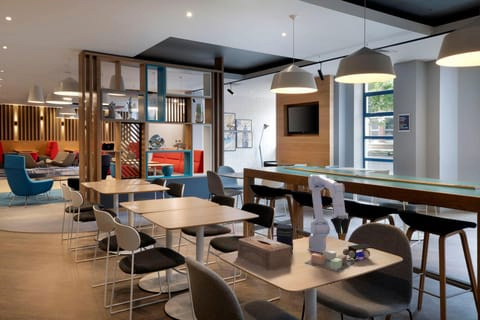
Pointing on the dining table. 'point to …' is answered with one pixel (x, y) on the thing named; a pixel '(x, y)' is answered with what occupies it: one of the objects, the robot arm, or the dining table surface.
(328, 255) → the pale grey brick
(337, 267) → the sage brick
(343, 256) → the walnut brick
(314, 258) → the terracotta brick
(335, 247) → the dining table surface
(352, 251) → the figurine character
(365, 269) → the dining table surface
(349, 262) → the felt mat
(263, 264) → the tissue box cover
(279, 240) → the storage jar
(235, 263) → the dining table surface
